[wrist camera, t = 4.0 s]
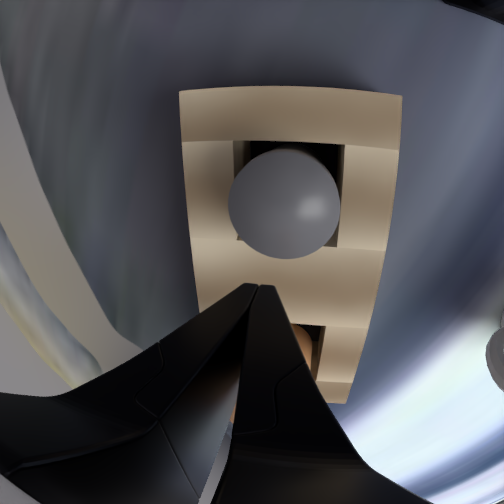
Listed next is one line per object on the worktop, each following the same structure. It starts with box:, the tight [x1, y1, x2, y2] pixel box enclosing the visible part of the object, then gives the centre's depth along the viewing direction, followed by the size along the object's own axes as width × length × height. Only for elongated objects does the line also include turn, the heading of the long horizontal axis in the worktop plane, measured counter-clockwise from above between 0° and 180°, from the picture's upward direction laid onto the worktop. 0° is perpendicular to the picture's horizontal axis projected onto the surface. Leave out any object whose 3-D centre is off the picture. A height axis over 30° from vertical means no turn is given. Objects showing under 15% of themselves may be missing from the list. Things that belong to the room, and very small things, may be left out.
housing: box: [179, 86, 402, 403], centre depth 18 cm, size 20×10×4 cm, turn 1°
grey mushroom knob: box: [228, 143, 340, 259], centre depth 15 cm, size 5×5×6 cm
